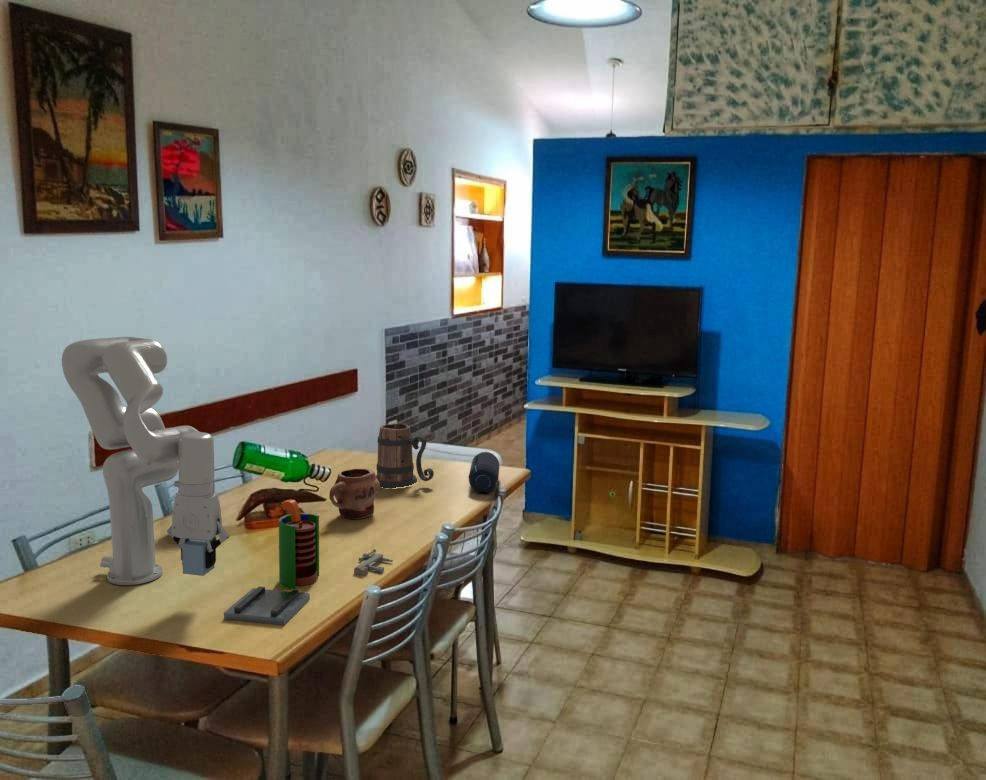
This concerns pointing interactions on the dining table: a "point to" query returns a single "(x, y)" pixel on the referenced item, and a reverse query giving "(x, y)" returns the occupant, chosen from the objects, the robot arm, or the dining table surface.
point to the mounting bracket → (267, 606)
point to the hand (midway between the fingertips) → (198, 564)
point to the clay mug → (355, 493)
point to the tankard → (399, 457)
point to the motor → (298, 547)
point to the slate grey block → (194, 557)
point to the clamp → (365, 566)
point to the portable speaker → (484, 472)
